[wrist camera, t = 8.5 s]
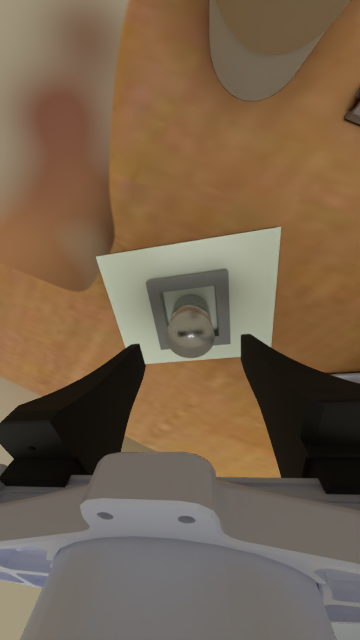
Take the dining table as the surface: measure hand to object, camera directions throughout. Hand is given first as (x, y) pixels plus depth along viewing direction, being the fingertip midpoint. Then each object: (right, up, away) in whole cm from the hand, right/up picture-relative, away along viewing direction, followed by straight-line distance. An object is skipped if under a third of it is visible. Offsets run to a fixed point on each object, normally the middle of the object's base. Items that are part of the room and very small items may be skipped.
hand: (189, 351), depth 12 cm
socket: (+1, +4, +8) cm, 8 cm away
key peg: (+1, +3, +7) cm, 8 cm away
